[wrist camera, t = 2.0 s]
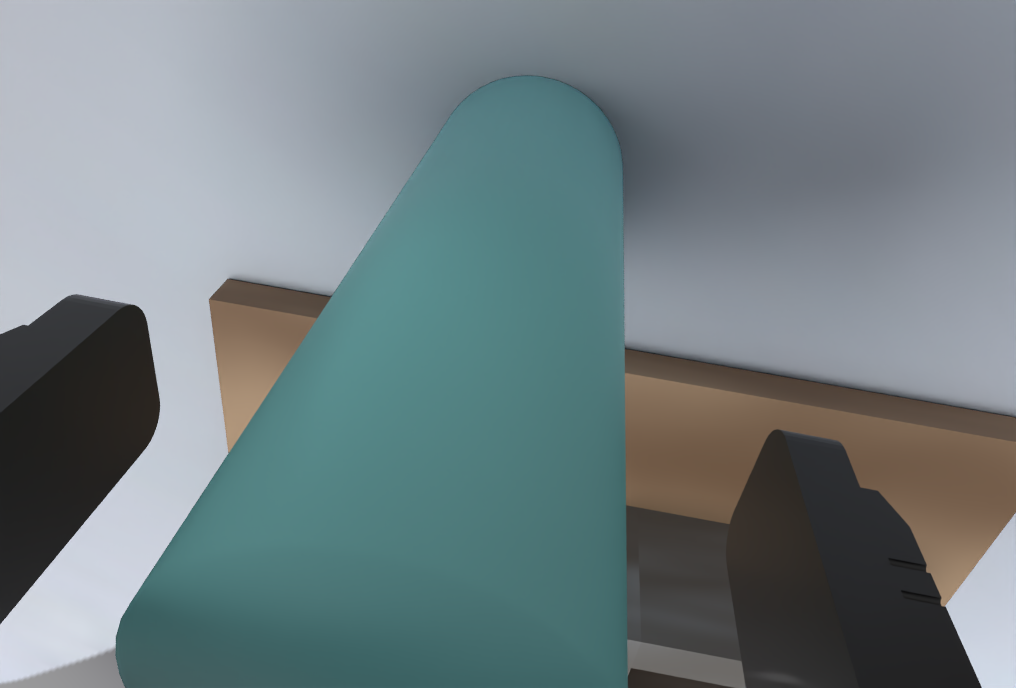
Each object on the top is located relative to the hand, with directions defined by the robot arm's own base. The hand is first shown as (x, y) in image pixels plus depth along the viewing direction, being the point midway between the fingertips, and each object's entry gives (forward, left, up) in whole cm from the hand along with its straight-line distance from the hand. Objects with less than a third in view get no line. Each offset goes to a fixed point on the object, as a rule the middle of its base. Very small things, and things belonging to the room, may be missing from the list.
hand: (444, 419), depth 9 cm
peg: (0, 0, -8) cm, 8 cm away
